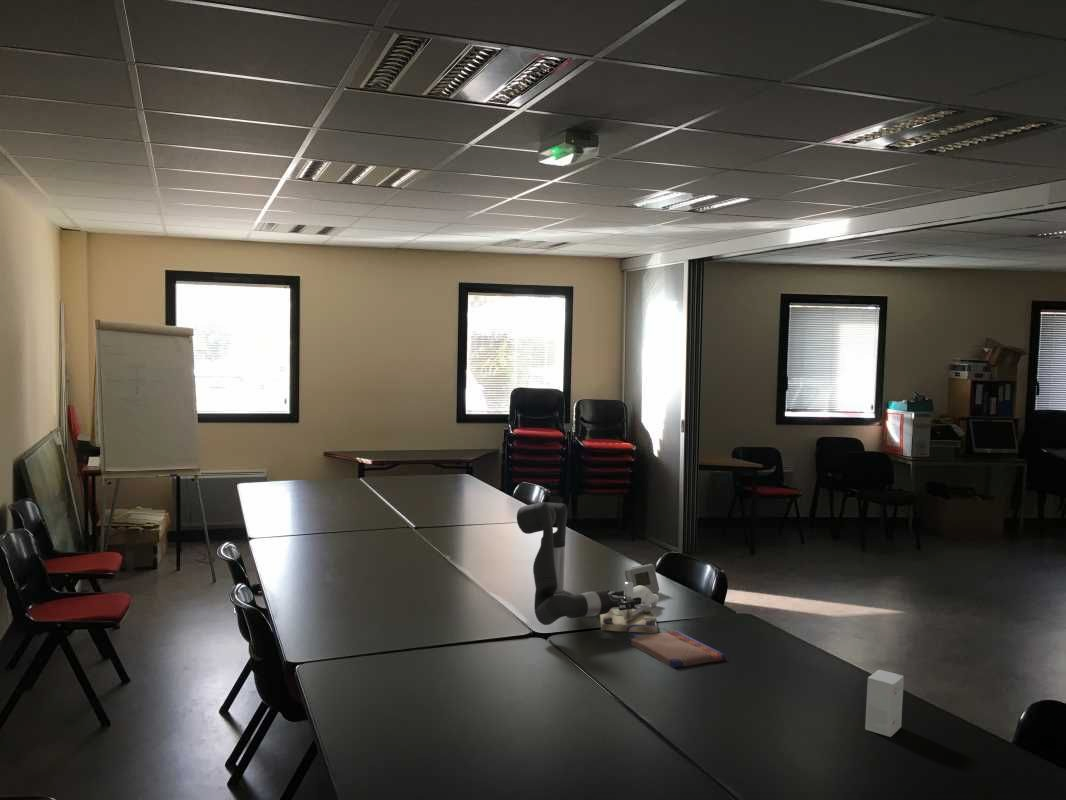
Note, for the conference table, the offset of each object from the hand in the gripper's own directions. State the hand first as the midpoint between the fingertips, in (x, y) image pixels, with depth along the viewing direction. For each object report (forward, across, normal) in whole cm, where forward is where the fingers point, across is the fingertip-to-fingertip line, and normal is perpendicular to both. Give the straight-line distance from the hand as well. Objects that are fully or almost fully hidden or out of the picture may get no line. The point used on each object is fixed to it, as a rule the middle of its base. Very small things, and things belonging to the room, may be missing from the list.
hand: (632, 597), depth 281 cm
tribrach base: (+2, +4, +10) cm, 11 cm away
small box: (+5, -90, +10) cm, 91 cm away
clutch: (-2, -23, +11) cm, 25 cm away
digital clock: (+29, +29, +10) cm, 42 cm away
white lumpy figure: (+19, +15, +10) cm, 26 cm away
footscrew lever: (+5, +3, +7) cm, 9 cm away
